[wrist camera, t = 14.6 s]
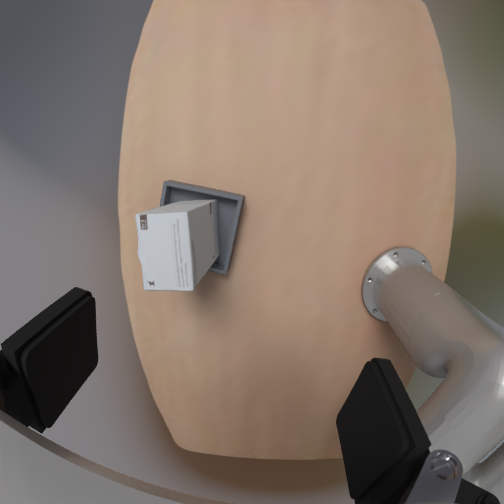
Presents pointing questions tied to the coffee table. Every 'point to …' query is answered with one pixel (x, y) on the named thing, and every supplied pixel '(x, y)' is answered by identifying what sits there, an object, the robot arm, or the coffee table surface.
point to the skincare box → (177, 244)
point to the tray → (227, 214)
